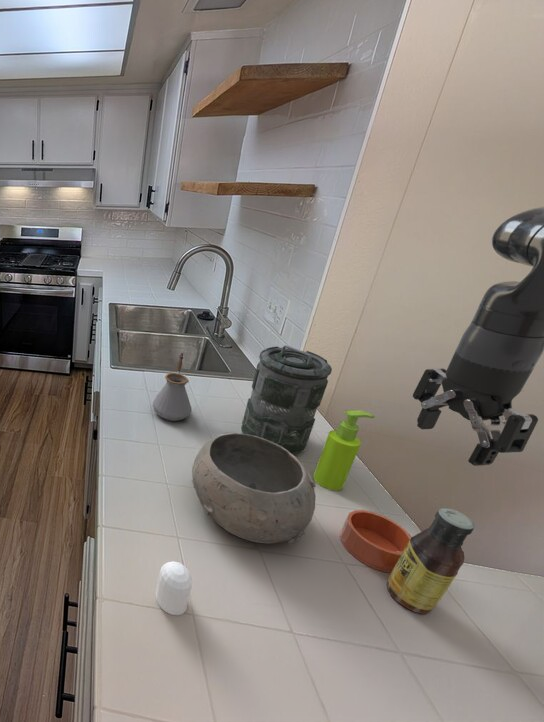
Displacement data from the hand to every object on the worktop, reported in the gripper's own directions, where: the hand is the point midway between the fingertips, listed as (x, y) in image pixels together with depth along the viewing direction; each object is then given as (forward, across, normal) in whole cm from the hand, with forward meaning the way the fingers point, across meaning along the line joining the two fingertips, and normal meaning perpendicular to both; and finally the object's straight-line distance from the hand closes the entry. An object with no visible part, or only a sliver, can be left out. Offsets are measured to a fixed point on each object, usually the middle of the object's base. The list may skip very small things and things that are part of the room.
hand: (449, 444), depth 62 cm
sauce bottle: (+29, -7, +2) cm, 30 cm away
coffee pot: (+30, +54, +24) cm, 66 cm away
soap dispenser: (+30, +21, -4) cm, 37 cm away
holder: (+29, +3, +1) cm, 29 cm away
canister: (+31, +38, +1) cm, 48 cm away
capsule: (+26, -7, +44) cm, 52 cm away
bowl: (+28, +12, +22) cm, 38 cm away
